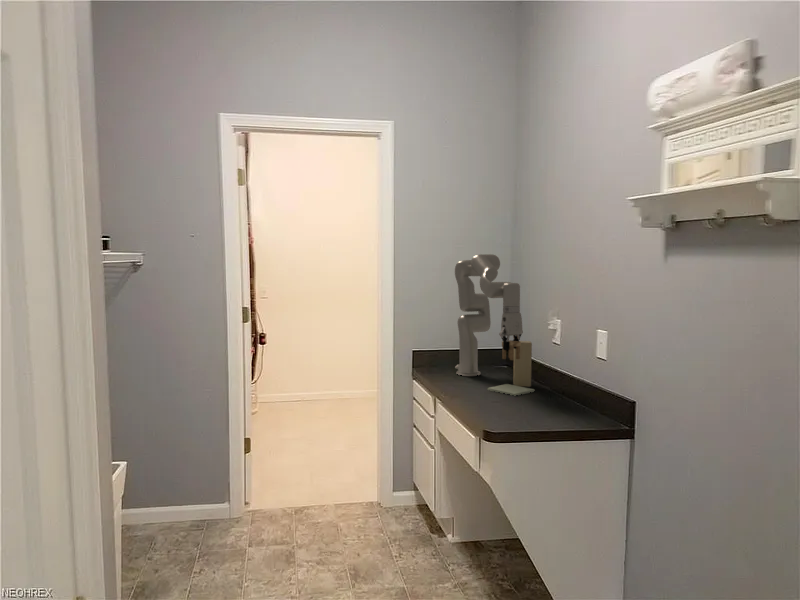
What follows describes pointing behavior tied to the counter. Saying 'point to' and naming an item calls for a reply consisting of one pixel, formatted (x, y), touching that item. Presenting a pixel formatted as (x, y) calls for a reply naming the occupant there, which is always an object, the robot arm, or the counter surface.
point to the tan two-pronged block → (512, 350)
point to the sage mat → (511, 389)
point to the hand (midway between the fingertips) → (511, 348)
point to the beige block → (523, 365)
